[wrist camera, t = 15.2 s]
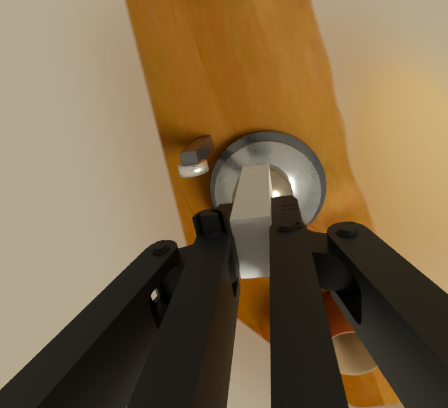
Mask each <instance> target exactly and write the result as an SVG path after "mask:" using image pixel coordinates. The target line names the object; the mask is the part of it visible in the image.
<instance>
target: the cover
mask: <svg viewBox="0 0 448 408" xmlns="http://www.w3.org/2000/svg"><path fill="white" fill-rule="evenodd" d="M262 164H265V163H262ZM255 165H259V164H255ZM269 170H270V177H271V185H272V193H273V197H278V196H287V195H293V190H292V186H291V182H290V180H289V178H288V176H287V175H286V173H285V172H284V171H283V170H281V169H280V168H279V167H277V166H274V165H271V164H269ZM240 175H241V174H240ZM239 179H240V176H239V177H238V179H237V181H236V184H235V188H234V191H233V195H232V203H234V200H235V196H236V192H237V188H238V184H239ZM293 196H294V195H293Z"/></svg>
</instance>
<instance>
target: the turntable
mask: <svg viewBox="0 0 448 408" xmlns="http://www.w3.org/2000/svg"><path fill="white" fill-rule="evenodd" d="M262 163H265V164H266V163H269V164H271V165H274V166H277V167H279V168H280V169H281V170H283V171H284V172H285V173H286V175H287V176H288V178H289V180H290V182H291V186H292V190H293V195H294V197H295V198H297V200H298V205H299V209H300V213H301V217H302V221H303V223H304V224H305V226H306V228H307V229H309V230H311V231H314V232H316V231H315V230H314V229H313V228H312V227H311V226H310V225H309V224H308V223H309V222H310V221H311V219H312V218H313V217H314V215H315V213H316V211H317V209H318V206H319V203H320V198H321V184H320V180H319V176H318V174H317V171H316V169H315V167H314V166H313V164H312V162H311V161H310V160H309V158H308V157H307V156H306V155H305V154H304V153H303V152H302V151H300V150H299V149H297V148H296V147H294V146H292V145H290V144H287V143H284V142H281V141H276V140H261V141H256V142H252V143H249V144H246V145H244V146H242V147H241V148H239V149H237V150H236V151H235V152H234V153H232V154H231V155H230V156H229V157H228V158H227V160H226V161H225V162H224V164H223V165H222V167H221V169H220V171H219V173H218V176H217V179H216V183H215V201H216V205H217V206H218V205H220V204H225V203H232V195H233V191H234V188H235V184H236V181H237V179H238V177H239V176H240V174H241V171H242V167H245V166H252V165H255V164H262Z"/></svg>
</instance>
